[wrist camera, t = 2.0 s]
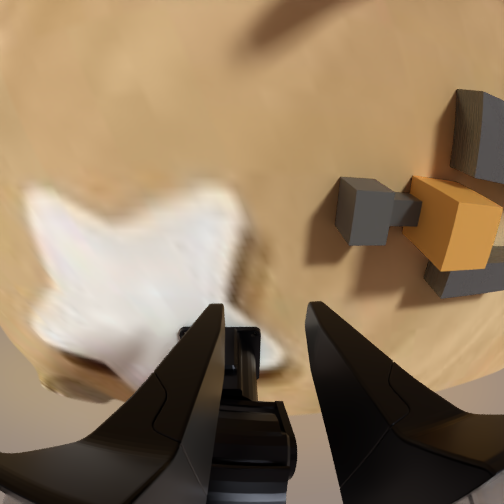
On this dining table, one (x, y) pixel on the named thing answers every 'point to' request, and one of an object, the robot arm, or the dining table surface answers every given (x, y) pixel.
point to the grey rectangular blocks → (482, 167)
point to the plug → (421, 219)
